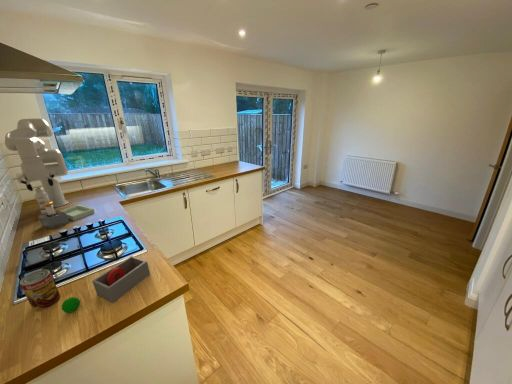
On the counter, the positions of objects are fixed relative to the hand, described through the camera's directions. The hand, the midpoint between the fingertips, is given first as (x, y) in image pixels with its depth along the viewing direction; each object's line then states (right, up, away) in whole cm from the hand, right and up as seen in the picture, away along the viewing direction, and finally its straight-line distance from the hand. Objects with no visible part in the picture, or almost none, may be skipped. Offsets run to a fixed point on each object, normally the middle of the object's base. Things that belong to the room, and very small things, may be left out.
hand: (41, 188), depth 129 cm
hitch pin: (0, -22, +8) cm, 23 cm away
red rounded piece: (+75, -41, -39) cm, 94 cm away
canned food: (+51, -44, -48) cm, 83 cm away
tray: (+2, -18, +23) cm, 29 cm away
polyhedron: (+63, -45, -52) cm, 93 cm away
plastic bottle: (-17, -19, +23) cm, 34 cm away
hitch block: (0, -23, +9) cm, 25 cm away
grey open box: (+75, -41, -40) cm, 95 cm away
